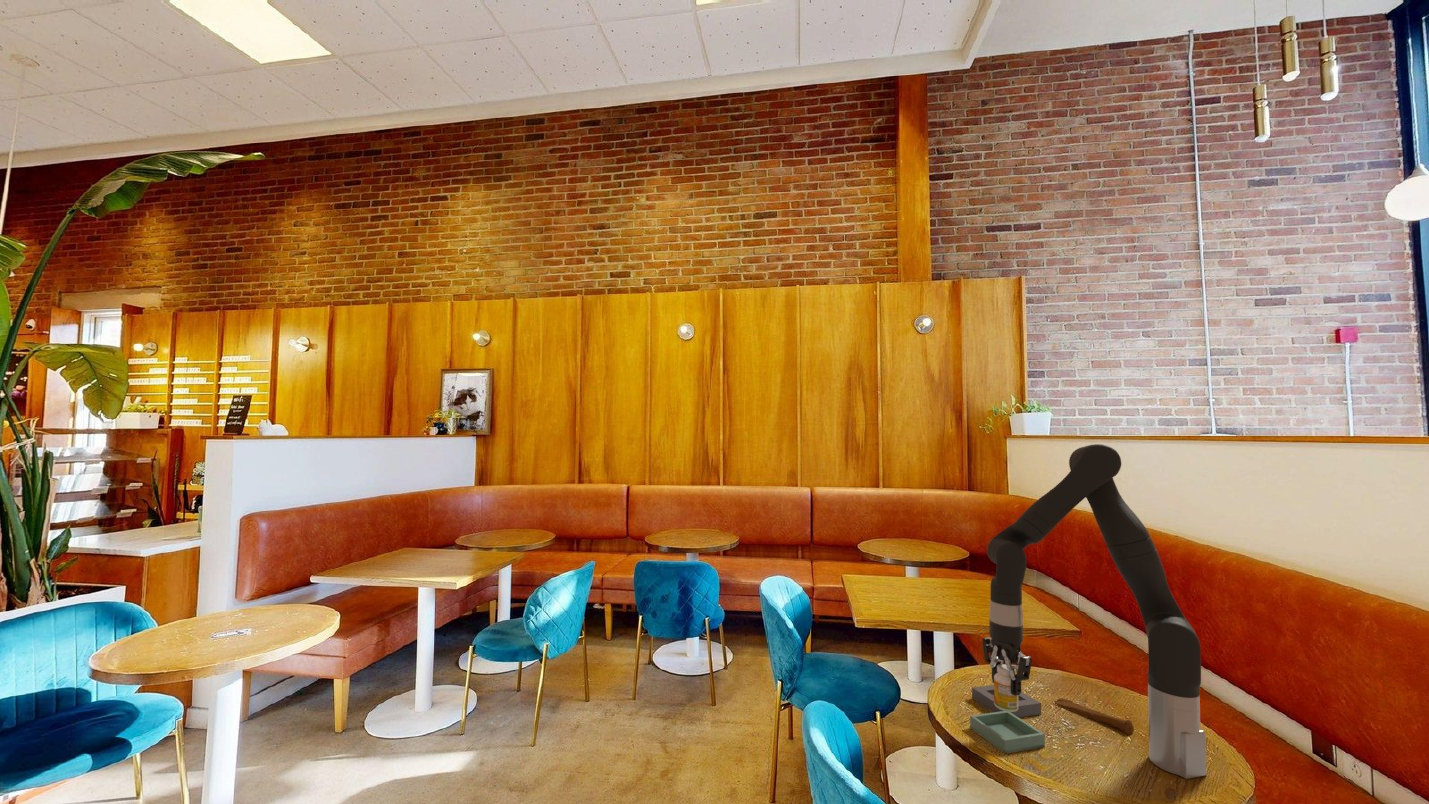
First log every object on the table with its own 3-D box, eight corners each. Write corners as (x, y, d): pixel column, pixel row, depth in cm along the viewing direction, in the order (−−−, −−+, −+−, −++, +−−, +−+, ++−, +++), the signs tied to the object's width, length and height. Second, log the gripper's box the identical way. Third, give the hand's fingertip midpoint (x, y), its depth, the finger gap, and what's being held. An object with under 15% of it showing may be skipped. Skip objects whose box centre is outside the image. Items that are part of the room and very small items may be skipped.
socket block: (1041, 714, 149) (1041, 703, 149) (1004, 719, 146) (1004, 708, 146) (1006, 693, 161) (1006, 683, 161) (971, 698, 158) (971, 687, 158)
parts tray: (1044, 747, 134) (1044, 734, 134) (1005, 753, 131) (1005, 740, 131) (1007, 722, 145) (1007, 710, 145) (970, 727, 142) (970, 715, 142)
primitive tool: (1050, 704, 156) (1050, 691, 156) (1060, 700, 159) (1060, 687, 159) (1128, 738, 139) (1128, 723, 140) (1139, 732, 142) (1139, 718, 142)
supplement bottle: (996, 699, 142) (996, 660, 142) (1020, 706, 139) (1020, 667, 139) (991, 707, 138) (991, 667, 138) (1015, 715, 134) (1015, 674, 135)
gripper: (1041, 629, 133) (1042, 701, 132) (996, 609, 147) (996, 675, 146) (1016, 631, 131) (1016, 704, 131) (973, 611, 145) (972, 677, 144)
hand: (1006, 688), depth 138 cm, fingers closed on supplement bottle, 5 cm apart
